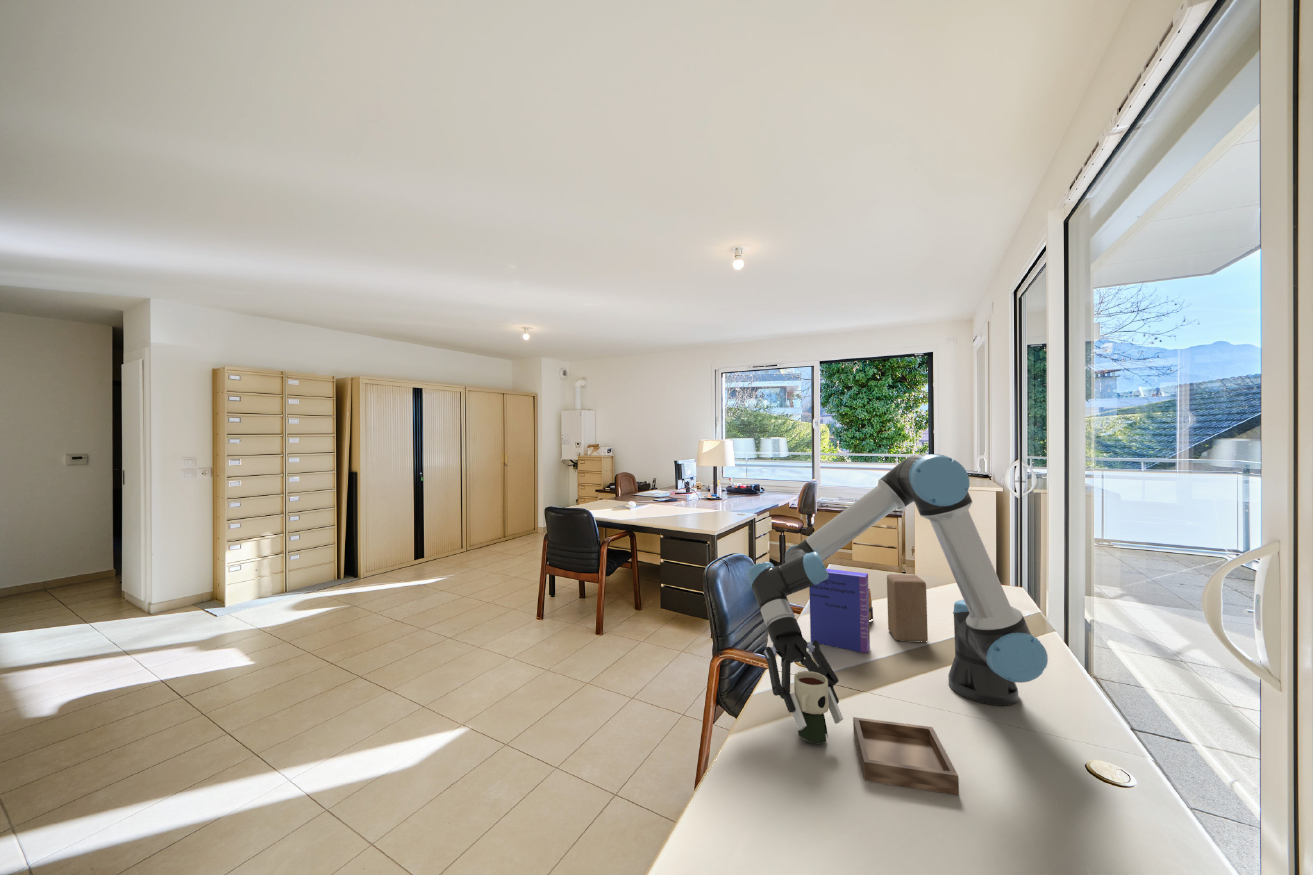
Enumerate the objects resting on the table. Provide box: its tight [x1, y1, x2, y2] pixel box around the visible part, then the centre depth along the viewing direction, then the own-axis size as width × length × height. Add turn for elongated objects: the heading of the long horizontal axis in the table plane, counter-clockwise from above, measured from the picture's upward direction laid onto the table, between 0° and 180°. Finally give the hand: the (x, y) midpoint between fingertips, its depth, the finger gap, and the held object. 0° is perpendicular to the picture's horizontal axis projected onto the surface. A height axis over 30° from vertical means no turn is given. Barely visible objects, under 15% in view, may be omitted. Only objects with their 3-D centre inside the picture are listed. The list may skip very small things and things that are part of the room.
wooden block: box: [886, 573, 929, 643], centre depth 161 cm, size 10×10×20 cm
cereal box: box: [808, 568, 871, 655], centre depth 155 cm, size 17×5×24 cm, turn 58°
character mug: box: [793, 670, 829, 745], centre depth 105 cm, size 11×7×13 cm, turn 145°
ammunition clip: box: [868, 587, 874, 620], centre depth 174 cm, size 11×2×12 cm, turn 133°
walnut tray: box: [852, 716, 960, 796], centre depth 97 cm, size 16×16×4 cm
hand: (821, 724), depth 101 cm, fingers closed on character mug, 8 cm apart
